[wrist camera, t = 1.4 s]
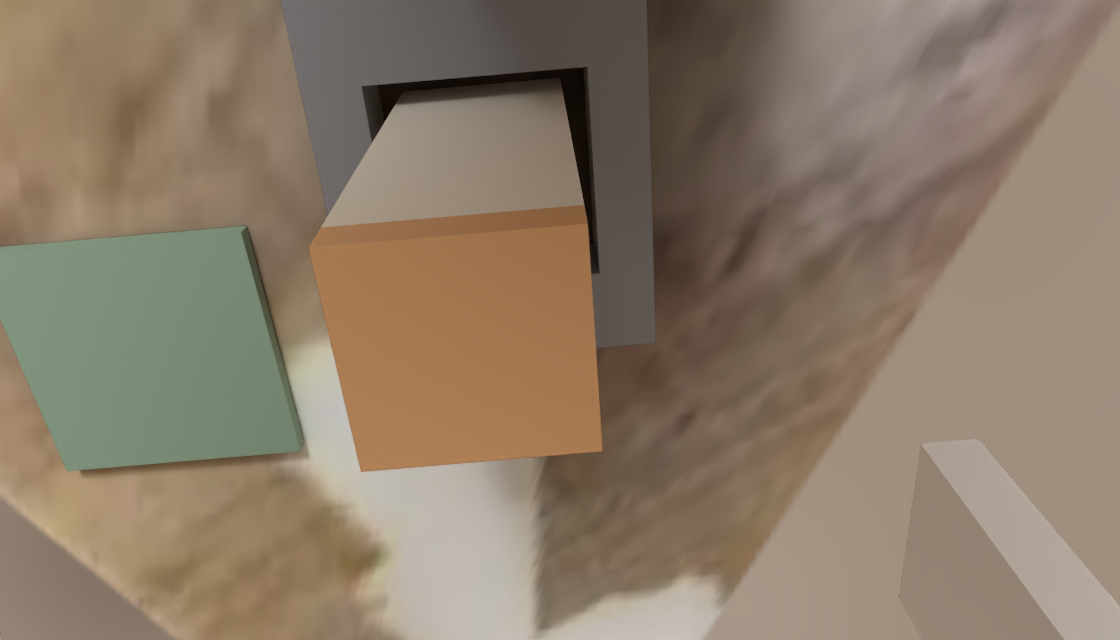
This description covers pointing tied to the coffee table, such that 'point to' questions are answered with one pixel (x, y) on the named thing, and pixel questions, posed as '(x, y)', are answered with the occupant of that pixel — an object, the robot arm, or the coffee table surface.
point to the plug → (464, 283)
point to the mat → (149, 348)
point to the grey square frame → (490, 49)
